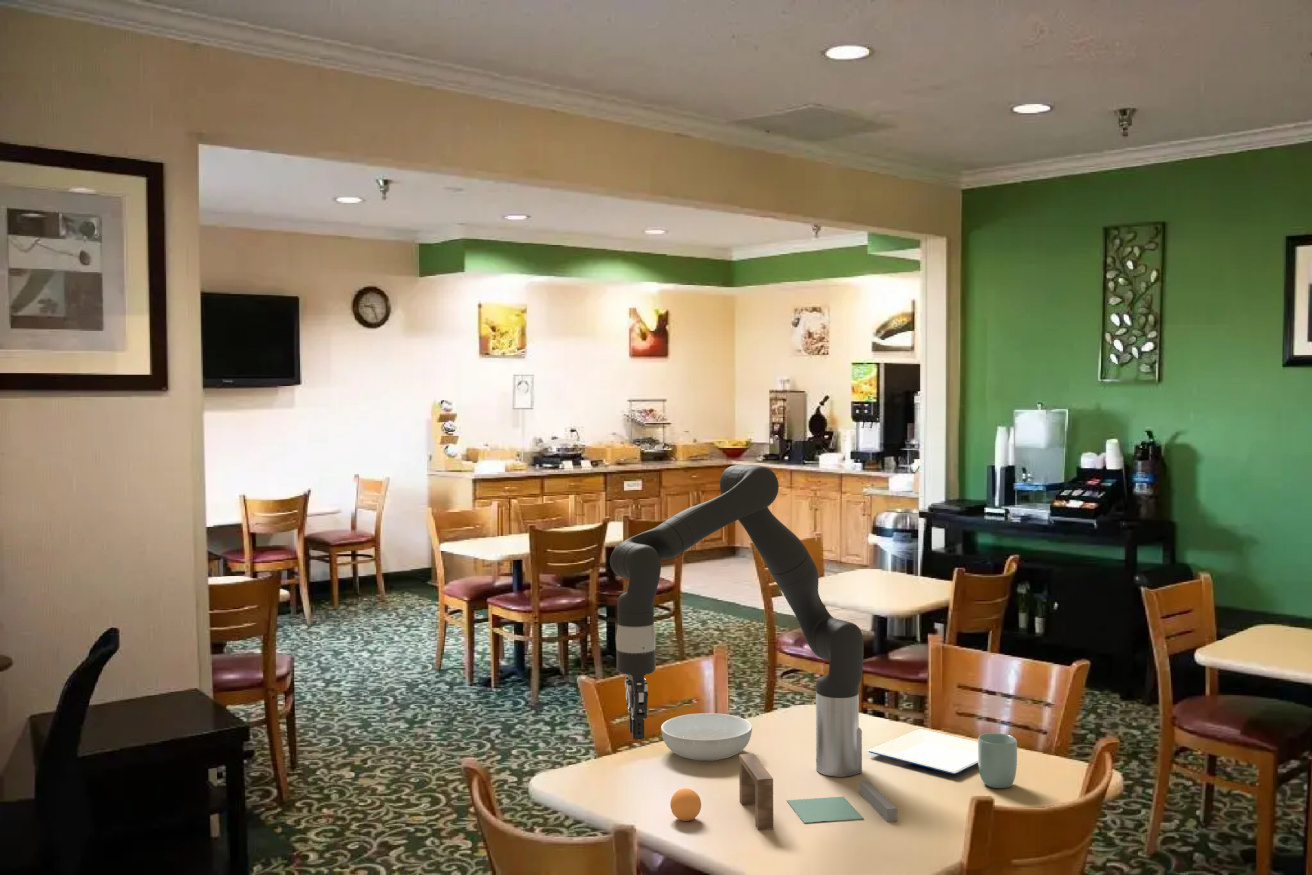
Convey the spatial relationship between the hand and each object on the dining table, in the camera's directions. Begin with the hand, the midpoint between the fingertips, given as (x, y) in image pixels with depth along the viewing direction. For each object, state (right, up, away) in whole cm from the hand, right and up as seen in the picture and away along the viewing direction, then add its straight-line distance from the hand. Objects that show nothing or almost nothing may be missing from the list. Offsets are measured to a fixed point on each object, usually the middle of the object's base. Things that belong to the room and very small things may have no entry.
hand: (636, 734), depth 214 cm
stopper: (+48, -16, +8) cm, 51 cm away
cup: (+76, -16, +20) cm, 80 cm away
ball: (+9, -14, +2) cm, 17 cm away
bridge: (+23, -17, +4) cm, 29 cm away
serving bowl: (+15, -16, +41) cm, 47 cm away
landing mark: (+37, -17, +7) cm, 41 cm away
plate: (+67, -16, +39) cm, 79 cm away
